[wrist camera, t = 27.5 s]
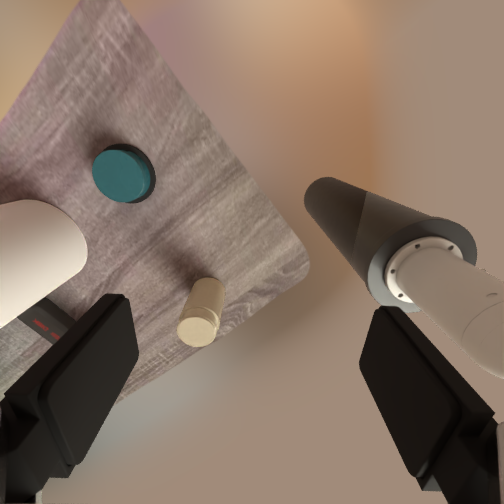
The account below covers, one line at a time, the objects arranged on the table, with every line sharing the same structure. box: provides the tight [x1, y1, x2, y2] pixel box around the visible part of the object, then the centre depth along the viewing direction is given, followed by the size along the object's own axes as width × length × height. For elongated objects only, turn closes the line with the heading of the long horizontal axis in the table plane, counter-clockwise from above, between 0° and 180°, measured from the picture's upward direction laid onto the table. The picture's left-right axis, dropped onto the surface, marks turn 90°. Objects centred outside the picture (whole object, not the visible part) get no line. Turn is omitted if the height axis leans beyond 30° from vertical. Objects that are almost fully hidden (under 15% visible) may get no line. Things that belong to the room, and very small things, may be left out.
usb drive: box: [17, 298, 76, 345], centre depth 43 cm, size 5×12×3 cm, turn 36°
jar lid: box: [92, 150, 150, 202], centre depth 33 cm, size 7×7×2 cm
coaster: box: [102, 144, 156, 203], centre depth 34 cm, size 8×8×1 cm
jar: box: [176, 277, 226, 347], centre depth 37 cm, size 6×6×10 cm
